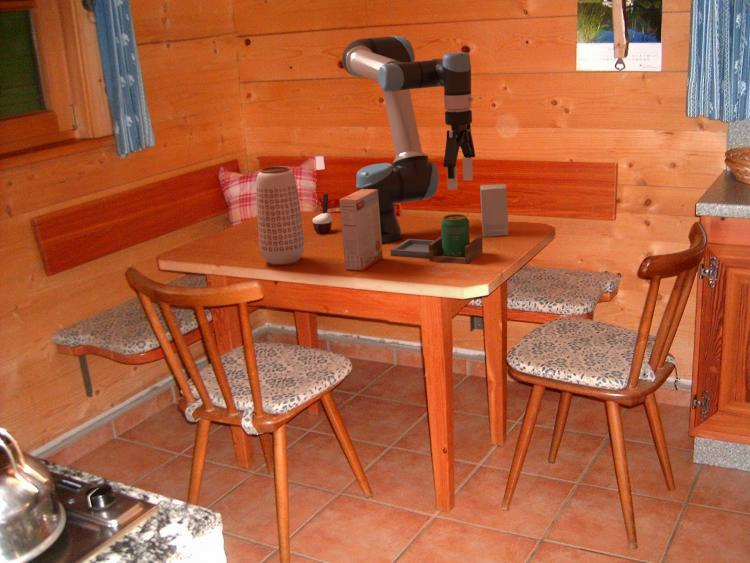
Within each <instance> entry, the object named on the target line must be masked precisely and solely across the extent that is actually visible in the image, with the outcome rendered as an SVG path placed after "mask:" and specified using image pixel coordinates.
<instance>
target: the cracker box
mask: <svg viewBox="0 0 750 563" xmlns="http://www.w3.org/2000/svg"><path fill="white" fill-rule="evenodd" d="M338 203H339V212H340V214H339V215H340V222H341V234H342V245H343V254H344V255H343V256H344V269H345V270H346V271H359V272H360V271H361V272H363V271H365V270H366V269H367V268H369V267H370V266H373V265H374V264H375V263H377V262H378V261H379V260H381V259H383V257H384V255H383V243H382V240H381V227H380V213H379V200H378V190H376V189H361V190H359V191H357V190H356V191H355V192H352V193H350V194H349V195H346V196H344V197H342V198H339V200H338Z"/></svg>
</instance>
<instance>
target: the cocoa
mask: <svg viewBox="0 0 750 563" xmlns="http://www.w3.org/2000/svg"><path fill="white" fill-rule="evenodd" d="M322 196H323V197H322V213H320V214H318V215H316V216H315V217H313V218H312V225H313V228H314V231H315V232H316V233H317V234H320V235H321V234H327V233H329V232H330V231H331V229H332V224H333V223H332V221H333V215H332V214H330V213H328V207H329V206H328V205H329V204H328V202H329V198H328V197H329V194H328V193H324V194H322Z"/></svg>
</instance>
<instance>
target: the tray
mask: <svg viewBox="0 0 750 563" xmlns="http://www.w3.org/2000/svg"><path fill="white" fill-rule="evenodd" d="M433 241H435V240H431V239H416V238H407V239H406V240H404V241H402V242H401V243H399V244H398V245H396V246H395V247H393V248H392V249H390V256H392V257H404V258H405V257H406V258H418V259H419V258H420V259H429V244H430V243H432V242H433Z"/></svg>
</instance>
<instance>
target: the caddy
mask: <svg viewBox="0 0 750 563" xmlns="http://www.w3.org/2000/svg"><path fill="white" fill-rule="evenodd" d="M483 253H484V252H483V235H482V236H480V235H479V236H477V237H475V239H473V240H472V241H471V242H470V243H469V244H468V245H466V246H465V258H462V257H448V256H443V254H442V235H441V236H439V237H438V238H436V239H435V240H434V241H433V242H432V243H430V244H429V258H428V260H429V262H435V263H449V264H451V263H452V264H462V265H469V264H470V263H472V262H473V261H475V259H476V258H478V257H480V255H483Z"/></svg>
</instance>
